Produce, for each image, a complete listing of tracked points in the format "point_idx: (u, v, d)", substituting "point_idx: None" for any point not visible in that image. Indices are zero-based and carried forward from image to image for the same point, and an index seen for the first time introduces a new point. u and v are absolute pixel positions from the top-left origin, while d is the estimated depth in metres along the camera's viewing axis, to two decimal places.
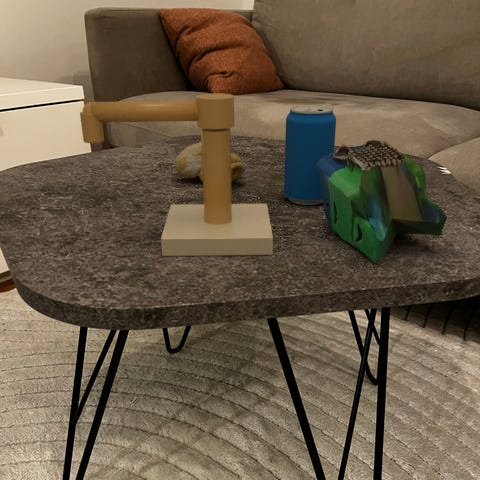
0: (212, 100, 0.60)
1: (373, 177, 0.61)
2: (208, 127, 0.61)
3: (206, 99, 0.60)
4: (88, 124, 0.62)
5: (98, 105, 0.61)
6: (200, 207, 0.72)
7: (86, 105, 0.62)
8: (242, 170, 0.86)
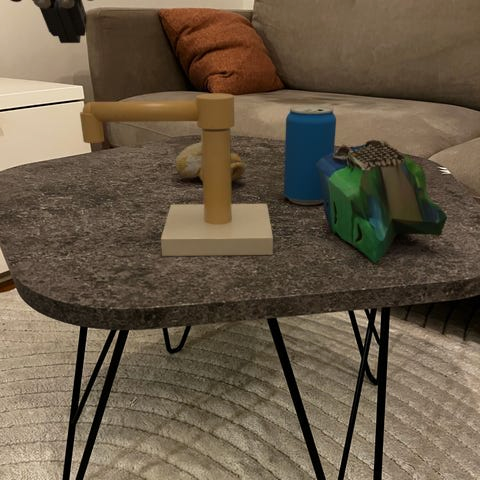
0: (212, 100, 0.60)
1: (373, 177, 0.61)
2: (208, 127, 0.61)
3: (206, 99, 0.60)
4: (88, 124, 0.62)
5: (98, 105, 0.61)
6: (200, 207, 0.72)
7: (86, 105, 0.62)
8: (242, 170, 0.86)
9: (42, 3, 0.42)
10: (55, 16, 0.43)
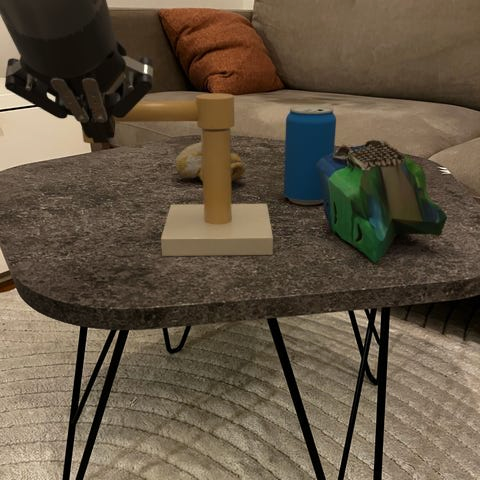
0: (212, 100, 0.60)
1: (373, 177, 0.61)
2: (208, 127, 0.61)
3: (206, 99, 0.60)
4: None
5: None
6: (200, 207, 0.72)
7: None
8: (242, 170, 0.87)
9: (82, 120, 0.54)
10: (91, 127, 0.55)
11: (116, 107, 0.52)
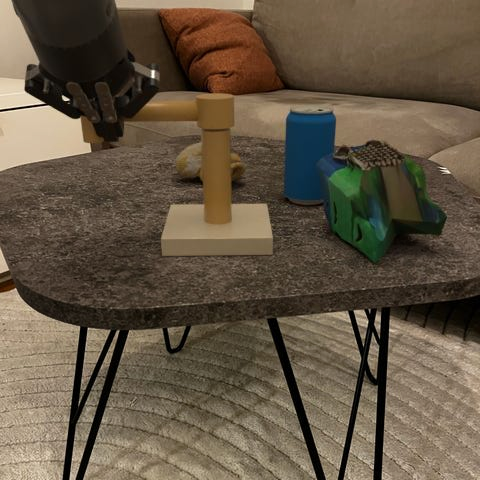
0: (212, 100, 0.60)
1: (373, 177, 0.61)
2: (208, 127, 0.61)
3: (206, 99, 0.60)
4: (88, 124, 0.62)
5: None
6: (200, 207, 0.72)
7: None
8: (242, 170, 0.87)
9: (94, 120, 0.58)
10: (102, 127, 0.60)
11: (125, 109, 0.57)
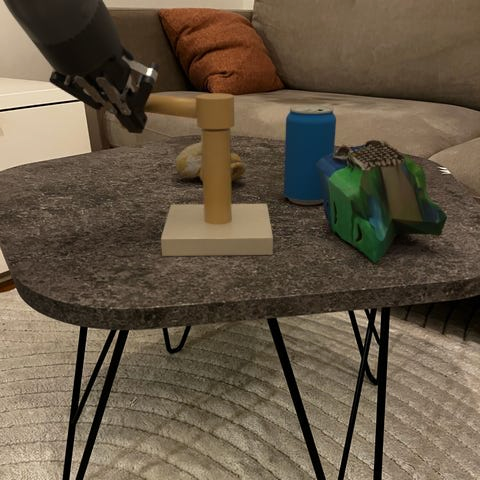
0: (202, 99, 0.61)
1: (373, 177, 0.61)
2: (199, 126, 0.62)
3: (198, 98, 0.61)
4: None
5: None
6: (200, 207, 0.72)
7: None
8: (242, 170, 0.87)
9: (111, 112, 0.65)
10: (122, 118, 0.66)
11: (133, 103, 0.63)
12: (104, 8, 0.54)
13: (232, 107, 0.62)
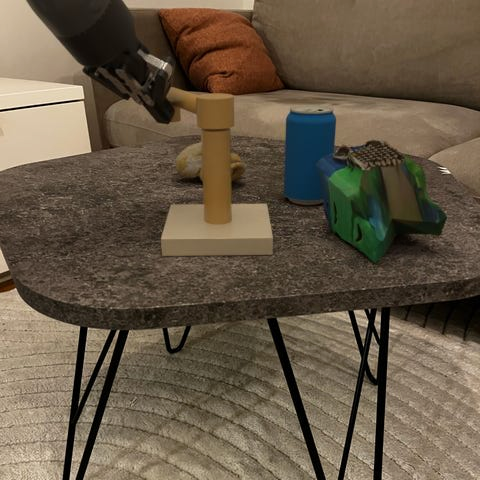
0: (197, 98, 0.61)
1: (373, 177, 0.61)
2: (197, 124, 0.63)
3: (196, 97, 0.62)
4: None
5: None
6: (200, 207, 0.72)
7: None
8: (242, 170, 0.87)
9: (137, 102, 0.69)
10: (148, 109, 0.70)
11: (153, 94, 0.66)
12: (118, 4, 0.57)
13: (226, 108, 0.61)
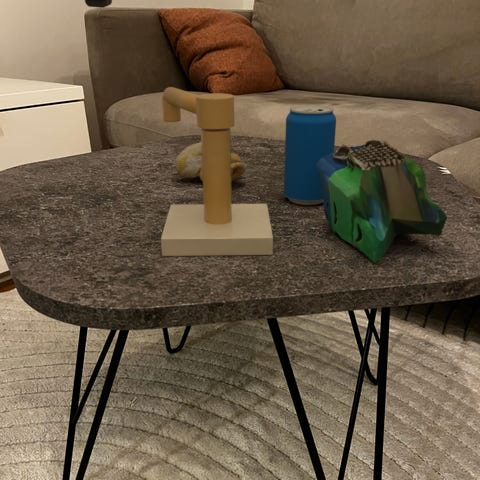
0: (197, 98, 0.61)
1: (373, 177, 0.61)
2: (197, 124, 0.63)
3: (196, 97, 0.62)
4: (162, 104, 0.73)
5: (168, 90, 0.71)
6: (200, 207, 0.72)
7: (166, 89, 0.72)
8: (242, 170, 0.87)
9: None
10: None
11: None
12: None
13: (226, 108, 0.61)
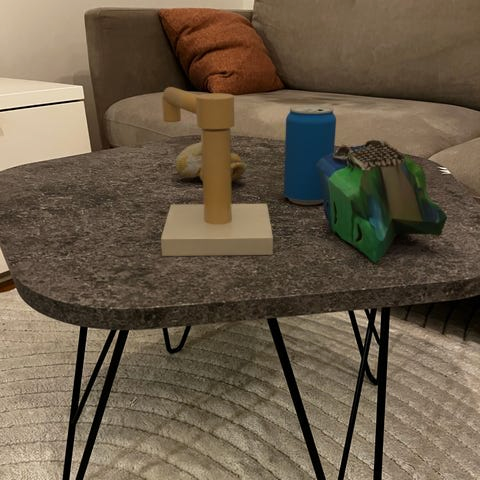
0: (197, 98, 0.61)
1: (373, 177, 0.61)
2: (197, 124, 0.63)
3: (196, 97, 0.62)
4: (162, 104, 0.73)
5: (168, 90, 0.71)
6: (200, 207, 0.72)
7: (166, 89, 0.72)
8: (242, 170, 0.87)
9: None
10: None
11: None
12: None
13: (226, 108, 0.61)
